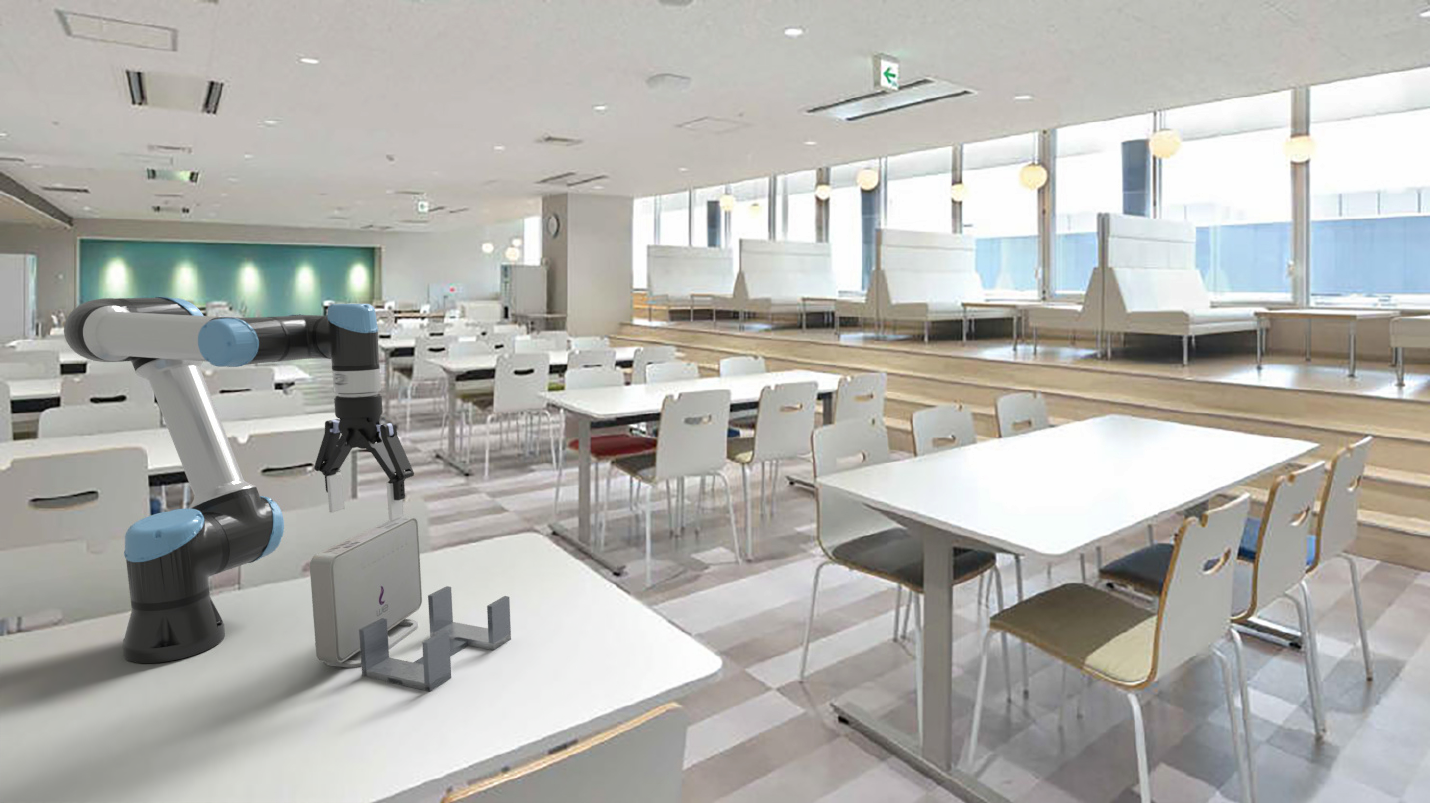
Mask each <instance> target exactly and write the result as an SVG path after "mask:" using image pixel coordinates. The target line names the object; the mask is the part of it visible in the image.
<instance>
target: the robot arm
mask: <svg viewBox="0 0 1430 803" xmlns="http://www.w3.org/2000/svg"><path fill="white" fill-rule="evenodd" d="M376 313H377V312H376V310H375V307H374V305H371V303H333V304H330V305H328V307H327V315H318V314H317V315H316V314H315V315H308V314H300V313H299V314H290V315H283V316H282V315H281V316H262V317H260V316H258V317H237V316H236V317H234V316H233V317H232V316H210V315H209V316H206V315H204V314H203V313H202V311H201V310H200V309H199V308H198V307H197V306H196V305H195V304H194V303H191V302H190V301H188V300H185V299H183V298H178V297H175V298H174V297H167V296H155V297H126V298H125V297H124V298H123V297H122V298H121V297H120V298H113V297H112V298H111V297H109V298H108V297H107V298H98V299H91V300H88V301H86V302H83V303H81V304H79V305H78V306H76V307H75V308H73V309H72V311H70V313H69V314H68V316H67V317H66V319H65V322H64V325H63V334H64V338H65V341H66V343H67V345H68V346H69V348H70V349H71V351H73V352H74V353H76V354H77V355H78V356H80V357H82V358H84V359H87V360H90V361H94V362H99V363H121V362H123V363H124V362H131V364H132V367H133V368H134V371H135V373H136V375H137V376H139V377H141V378H143V379H146V380H147V381H148V382H149V384H150V386H151V388H152V391H153V394H154V396H155V399H156V401H157V404H158V406H159V409H160V412H161V414H162V418H163V419H164V422H165V424H166V427H167V429H168V432H169V435H170V437H171V441H172V443H173V446H174V448H175V450H176V453H177V456H178V458H179V460H180V464H181V466H182V469H183V471H184V474H185V476H186V478H187V481H188V483H189V484H188V485H189V486H190V489H191V491H192V494H193V500H192V502H191V504H190V505H189V507H188V508H176V509H172V510H170V511H161V512H158V513H154V514H150V515H148V516H145V517H143V518H142V519H139V520H137V521H136V522H134V523H132V524H131V525H130V527H128V529H126V533H124V553H123V555H124V557H125V561H126V570H127V581H128V589H129V598H130V605H131V606H130V608H131V611H130V615H129V619H128V623H127V626H126V630H125V633H124V634H125V635H124V638H123V641H122V651H123V652H122V653H123V656H124V659H125V660H127V661H129V662H131V663H136V664H138V663H139V664H157V663H165V662H172V661H175V660H177V661H178V660H181V659H185V658H189V657H192V656H196V655H198V654H200V653H203V652H206V651H208V650H210V649H212V648H214V647H216V646H217V645H219V644H220V643H221V642H222V641H223V640H224V639H225V636H226V632H225V623H224V621H223V619H222V616H221V615H220V613H219V611H218V609H217V607H216V605H215V603H214V601H213V599H212V597H211V593H210V583H209V581H210V579H209V578H210V577H212V576H215V575H217V574H221V573H223V572H227V571H229V570H233V569H235V568H238V567H241V566H243V565H246V564H252V563H254V562H256V561H258V560H260V559H262V558H264V557H267V556H269V555H271V554H273V553H274V552H275V551H276V549H277V548H278V547H279V546H280V544H281V542H282V538H283V536H284V532H285V520H284V516H283V513H282V510H281V507H280V505H278V503H277V502H276V501H273V499H272V498H271V497H268V496H264V495H260V492H259V491H258V488H257V485H255V484H252V483H250V482H247V481H246V480H245V479H244V477H243V475H242V471H241V469H240V466H239V464H238V460H237V459H236V456H235V454H234V451H233V448H232V446H231V444H230V440H229V438H228V435H227V433H226V430H225V428H224V426H223V423H222V420H221V418H220V414H219V413H218V411H217V407H216V405H215V402H214V399H213V398H212V395H211V392H210V389H209V387H208V385H207V383H206V380H205V377H204V374H203V372H202V369H201V366H202V364H203V362H205V363H206V362H208V363H209V364H210V365H211V366H213V367H218V368H219V367H220V368H221V367H225V368H234V367H235V368H237V367H238V368H239V367H242V366H247V365H249V366H250V365H257V364H258V365H259V364H264V363H265V364H266V363H276V362H287V361H288V362H289V361H298V360H299V361H300V360H309V359H310V360H311V359H321V360H322V359H325V360H326V359H328V360H331V370H332V371H331V372H332V382H333V383H332V385H333V392H334V393H335V394H337V395H336V396H334V398H333V399H334V400H333V401H334V415H335V417H336V419H330V420H325V422H324V434H323V438H322V441H321V444H320V447H319V451H318V454H317V456H316V460H315V464H314V471H316V472H321V474H322V475H323V476H324V482H325V483H324V484H325V486H324V487H325V491H326V492H325V493H327V499H328V510H329V513H331V514H332V513H337V512H339V511H342V510H345V495H344V482H343V481H344V480H343V473H341V467H342V465H343V464H344V462H345V461H346V460H347V458H348V456H349V454H350V453H351V451H352V449H355V448H359V449H363V450H364V449H366V451H367V452H368V453H371V455H372V456H373V457H374V459H375V460H376V462H377V463H378V464H379V466H380V467H381V469H382V470H383V472H384V473H385V475H386V476H387V478H388V481H387V482H386V495H387V510H388V520H394V519H397V518H400V517H405V513H404V512H405V511H404V499H405V497H406V491H405V490H406V489H405V481H406V479H409V478H412V477H414V474H415V471H414V469H413V467H412V465H411V463H410V461H409V459H408V457H407V453H406V452H405V449H404V447H403V444H402V443H401V440H400V438H399V435H398V432H397V431H398V430H397V424H396V423H395V422H388V423H384V424H382V423H381V420H380V417H381V415H383V412H384V410H383V400H382V399H383V396H382V395H381V394H380V393H379V392H381V390H382V383H381V382H382V380H381V369H380V358H379V356H380V355H379V327H378V323H377V322H378V321H377V314H376Z"/></svg>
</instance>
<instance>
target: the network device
mask: <svg viewBox="0 0 1430 803" xmlns="http://www.w3.org/2000/svg"><path fill="white" fill-rule="evenodd" d="M419 537H420V536H419V522H418V519H417V518H416V517H405V516H403V517H400V518H397V519H394V520H389V519H388V520H386V521H384V522H382V523H380V524H377V525H375V526H373V527H371V528H369V529H366V530H365V531H363V532H360V533H358V534H356V535H354V536H352V537H349V538H348V539H345V540H343V541H341V542H339V543H337V544H335V545H333V546H331V547H328V548H326V549H324V550H322V551H320V552H318V553H316V554H314V555H313V556H312V558H311V559H310V562H309V576H310V587H311V601H312V616H313V628H314V640H315V641H314V642H315V656H316V659H317V660H318V661H321V662H324V664H325V665H327V666H332V667H343V668H357V667H361V660H351V659H350V658H351V657H352V656H354V655H356V654H357V653H358V652H360V637H359V629H361V628H363V627H365V626H367V625H369V624H371V623H373V622H375V621H377V620H379V619H381V618H385V619H387V631H388V632H389V631H390V630H391V629H393V628H394V627H396V626H397V625H399V626H400V625H401V626H409V627H408V628H406V629H405V630H404V631H402V632H401V633H399V634H398V635H396V636H389V635H388V647H389V650H391V649H392V648H393V647H395V646H396V645H397V644H399V643H400V642H401V641H403V640H404V639H405V638H407V637H408V636H410V635H411V634H412V633H414V632H415V631H417V629H418V628H419V622H418V621H417V620H414V619H409V617H410V616H411V615H414V613H416V612H417V611H418V610H419V609H420V608H421V606H422V603H423V595H422V594H423V593H422V592H423V591H422V577H421V576H422V575H421V558H420V557H421V556H420V554H421V553H420V538H419Z"/></svg>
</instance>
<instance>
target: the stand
mask: <svg viewBox="0 0 1430 803" xmlns="http://www.w3.org/2000/svg"><path fill="white" fill-rule="evenodd" d="M427 598H428V600H427V602H428V622H429V638H428V639H426V640H424V641H422V642H421V644H422V646H421V647H422V657H420V658H418V659H416V660H415V661H413V662H412V661H408V660H403V659H400V658H399V659H398V658H394V657H390V649H389V647H388V636H389V630H388V631H387V619H385V618H381V619H379V620H377V621H375V622H373V623H371V624H369V625H367V626H365V627H363V628H361V629H359V637H360V651H359V652H360V661H361V666H360V667H361V677H365V678H370V679H374V680H378V681H382V682H387V683H390V684H391V683H392V684H396V685H400V686H403V687H404V686H405V687H409V688H413V689H417V690H421V691H427V692H431V691H433V690H434V689H437V688H438V687H439V686H441V685H442V684H444V683H446V681H448V680H450V679H452V666H451V665H452V664H451V663H452V662H451V656H453V655H455V654H456V653H459V651H461V650H463V649H465V648H466V647H467V646H471V647H475V648H480V649H485V650H486V649H487V650H491V651H496V649H498V648H500V647H502V646H503V645H504V644H505V643H507V642H509V641H510V640H512V633H511V632H512V630H511V629H512V628H511V602H510V596H507V595H504V596H502V597H500V598H499V599H497V600H494V601H493V602H491V603H490V604H488V605H487V606H486V608H487V611H486V612H487V627H482V626H477V625H472V624H467V623H461V622H456V621H454V616H453V615H454V614H453V599H452V598H453V597H452V587H451V586H448V585H446V586H444V587H442V588H441V589H438V590H436V591H434V592H432V593H430V594H428V595H427Z"/></svg>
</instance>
